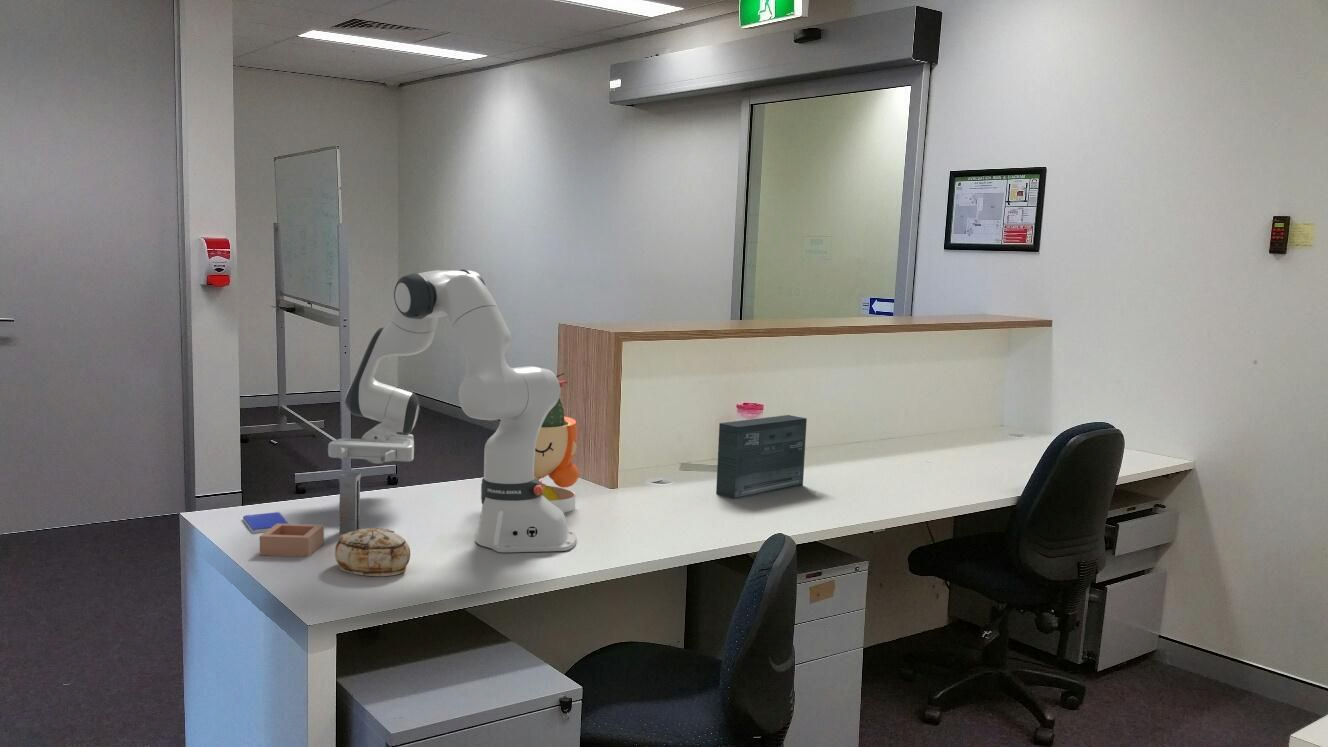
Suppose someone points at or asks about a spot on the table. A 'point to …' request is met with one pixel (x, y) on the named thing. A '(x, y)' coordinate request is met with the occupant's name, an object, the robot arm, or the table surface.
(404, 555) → the trinket box
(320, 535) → the holder
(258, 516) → the hard drive
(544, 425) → the potted cactus
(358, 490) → the grey chimney stack
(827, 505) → the table surface
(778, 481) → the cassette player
